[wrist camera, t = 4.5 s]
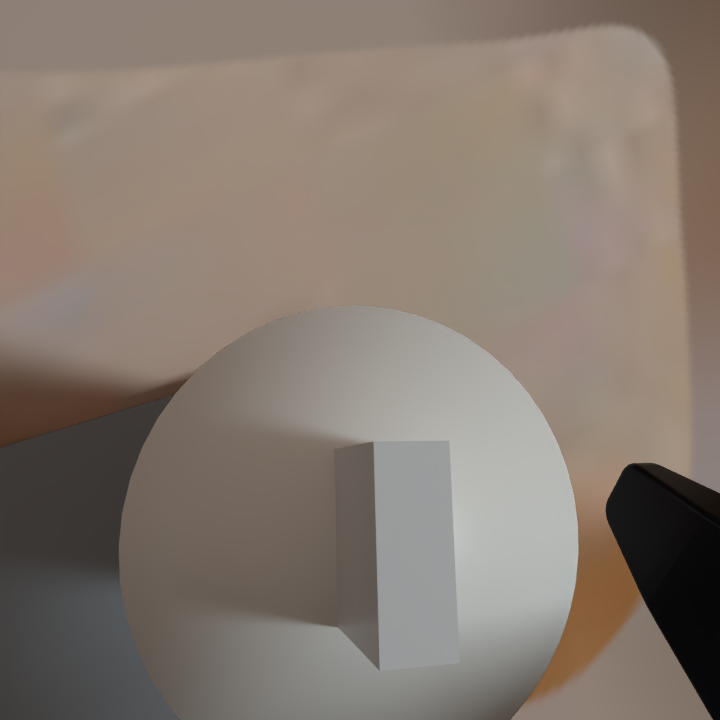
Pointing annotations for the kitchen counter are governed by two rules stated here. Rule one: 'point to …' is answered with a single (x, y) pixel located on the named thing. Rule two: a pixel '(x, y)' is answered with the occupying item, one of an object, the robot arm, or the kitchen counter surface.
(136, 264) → the kitchen counter surface
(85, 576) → the desk mat
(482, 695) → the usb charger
